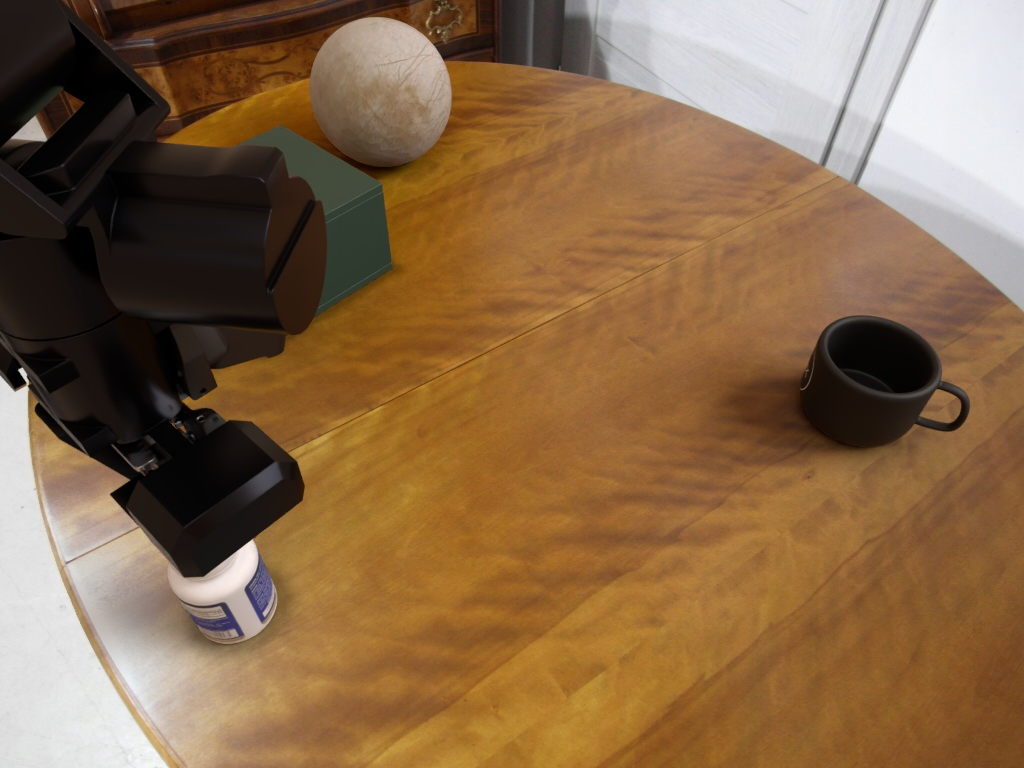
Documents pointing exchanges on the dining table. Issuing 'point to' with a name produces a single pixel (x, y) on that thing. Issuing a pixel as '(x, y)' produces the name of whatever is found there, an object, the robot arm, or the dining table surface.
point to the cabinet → (339, 214)
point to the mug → (873, 382)
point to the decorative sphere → (380, 92)
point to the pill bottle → (229, 597)
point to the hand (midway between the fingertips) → (184, 507)
